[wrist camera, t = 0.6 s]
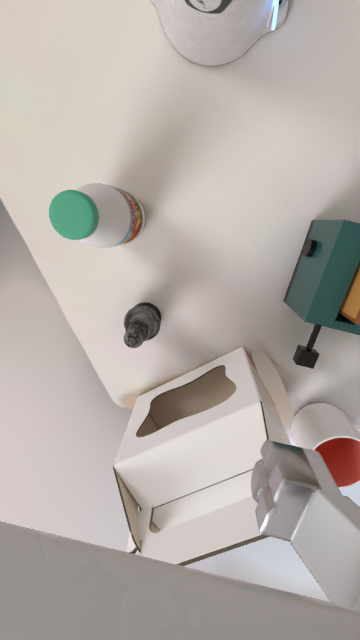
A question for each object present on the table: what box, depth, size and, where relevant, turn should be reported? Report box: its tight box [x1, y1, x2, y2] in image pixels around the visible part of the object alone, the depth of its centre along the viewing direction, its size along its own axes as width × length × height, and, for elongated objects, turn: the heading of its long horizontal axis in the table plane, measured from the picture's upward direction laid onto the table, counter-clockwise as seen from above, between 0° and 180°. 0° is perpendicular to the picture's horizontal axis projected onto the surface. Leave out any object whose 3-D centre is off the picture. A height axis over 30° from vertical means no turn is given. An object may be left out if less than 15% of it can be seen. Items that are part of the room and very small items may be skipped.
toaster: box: [284, 220, 360, 335], centre depth 44 cm, size 13×11×11 cm
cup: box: [291, 403, 360, 488], centre depth 53 cm, size 10×10×10 cm
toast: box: [339, 262, 360, 325], centre depth 40 cm, size 9×1×10 cm, turn 166°
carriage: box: [293, 324, 321, 368], centre depth 47 cm, size 20×3×2 cm, turn 166°
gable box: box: [113, 347, 291, 566], centre depth 44 cm, size 22×13×28 cm, turn 120°
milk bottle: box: [49, 183, 145, 248], centre depth 39 cm, size 8×8×20 cm
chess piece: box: [124, 302, 161, 348], centre depth 48 cm, size 6×6×12 cm
